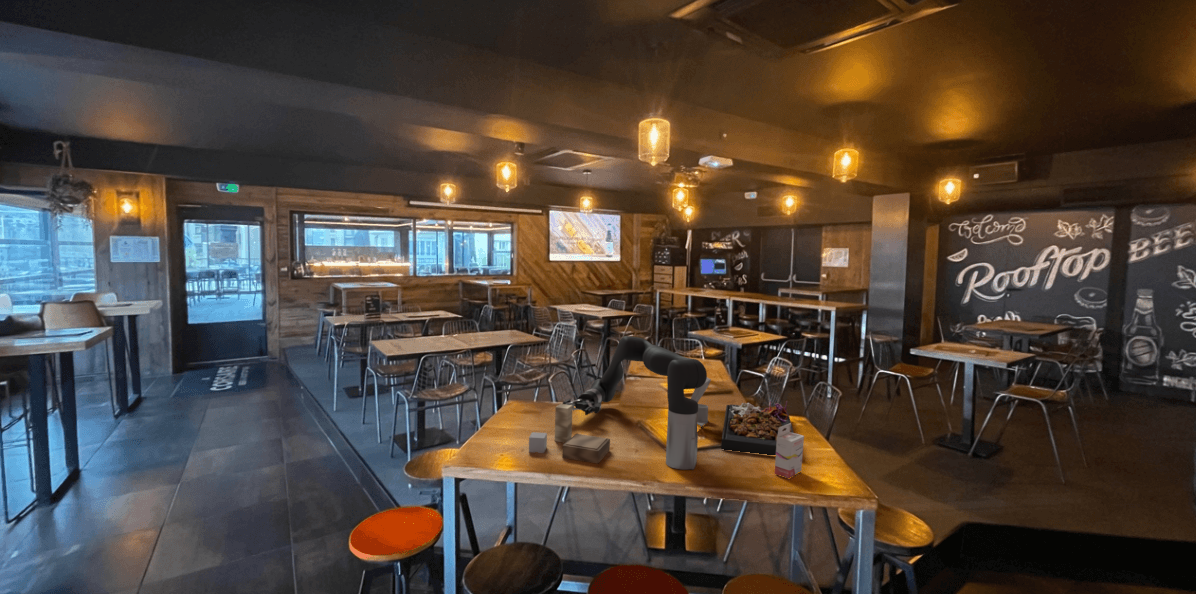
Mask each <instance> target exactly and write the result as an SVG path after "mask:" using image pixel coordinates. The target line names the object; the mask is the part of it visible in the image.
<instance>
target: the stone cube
mask: <svg viewBox="0 0 1196 594" xmlns="http://www.w3.org/2000/svg"><path fill="white" fill-rule="evenodd" d="M547 439H548V433H547V432H536V431H535V432H533V431H532V432H531V434H530V435H529V437H528V453H535V452H538V453H537V454H544V453H545V452H546V449H547V446H548V442H547V441H548V440H547Z"/></svg>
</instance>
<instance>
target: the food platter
mask: <svg viewBox="0 0 1196 594" xmlns="http://www.w3.org/2000/svg"><path fill="white" fill-rule="evenodd" d="M787 403H788V401H785V406H784V407H783V406H782V404H781V403H778V402H776V403H775V404H774V406H772V404H771V400H770V401H769V403H768V406H769V407H760V406H754V405H753V404H751V403H750V402H747V403H746V402H742V403H741V405H739V404H731V403H730V404H726V407H725V413H724V421H723V428H722V434H721V446H720V450H721V449H724V450H723V451H725V450H732V451H740V452H750V453H759V454H767V455H776V445H777V435H778V429H779V427H782V426H784V425H787V424H789V423H791V427H790V432H791V433H794V428H793V425H792V422H791V418H790V414H789V411H788V410H787V405H788V404H787ZM785 430H786V428H784V429H783V430H782V431H785ZM732 451H731V452H732ZM740 452H739V453H740Z"/></svg>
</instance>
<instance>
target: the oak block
mask: <svg viewBox="0 0 1196 594" xmlns="http://www.w3.org/2000/svg"><path fill="white" fill-rule="evenodd" d="M572 406H573V405H566V404H563V403H560V404H558V405H556V406H555V412H554V413H555V415H554V417H555V418H554V419H555V420H554V442H558V443H559V442H560V443H564V442H565V443H566V442H567V441H568V440H569V439H571V438H572V437H573V436H572V433H573V429H572V428H573V410H572ZM565 443H564V444H565Z"/></svg>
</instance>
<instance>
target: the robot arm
mask: <svg viewBox="0 0 1196 594" xmlns="http://www.w3.org/2000/svg"><path fill="white" fill-rule="evenodd" d="M624 360H625V361H632V362H639V363H640V362H642V363H643V365H644V367H645V368H646V369H647V370H649V371H650V372H652V373H653V374H655V375H658V376H663V377H664V376H665V377H667V379H666V381H667V384H666V385H667V387H666V389H667V391H666V392H667V396H666V397H667V404H668V407H667V425H666V428H667V430H666V445H665V446H666V450H665V451H666V452H665V464H666V465H667V466H668V467H669V468H671V469H672V468H673V469H677V470H694V469H696V466H697V461H698V460H697V459H698V444H699V443H698V439H699V434H698V432H697V423H698V404H699V402H698V403H697V402H696V401H695V400H693V399H691V397H690V398H689V397H686V396H685V390H695V389H696V388H699V387H701V386H703V385H704V383H705V382H706V379H707V378H708V373H707V369H706V367H705V366H704V364H703V363H702V362H701V361H700V360H698V359H695V358H690V357H686V356H683V355H681V354H678V353H676V352H674V351H671V350H670V349H667V348H664V347H662V346H659V345H656V344H652V343H651V342H650V341H648V340H647V339H645V338H643V337H639V336H636V337H635V336H628V335H625V336H623V337H621V338H620V340H619V341H618V343H617V346H616V348H615V351H614V353H613V356H612V358H611V361H610V364H609V366H608V367H607V369H606V370H605V372H604V373H603V374H602V377H601V378H597V379H595V380H594V381H593V382H592V384H591V386H590V388H589V389H588V390H587V389H586V390H585V391H584V392H582V393H581V394H580V395H579V396H578V397H577V399H575V400H572V398H567V399H565V400H563V401H562V404H566V405H573V406H572V411H576V410H577V411H578V410H579V411H581V412H584V416H588V415H590V414H593V413H594V414H598V413H599V412H600V411H601V410H602V403H609V402H610V401H612V400H613V398H614V397H615V395H616V390H617V386H618V384H620V381H621V380H622V378H623V376H624V367H623V364H622V362H624Z"/></svg>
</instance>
